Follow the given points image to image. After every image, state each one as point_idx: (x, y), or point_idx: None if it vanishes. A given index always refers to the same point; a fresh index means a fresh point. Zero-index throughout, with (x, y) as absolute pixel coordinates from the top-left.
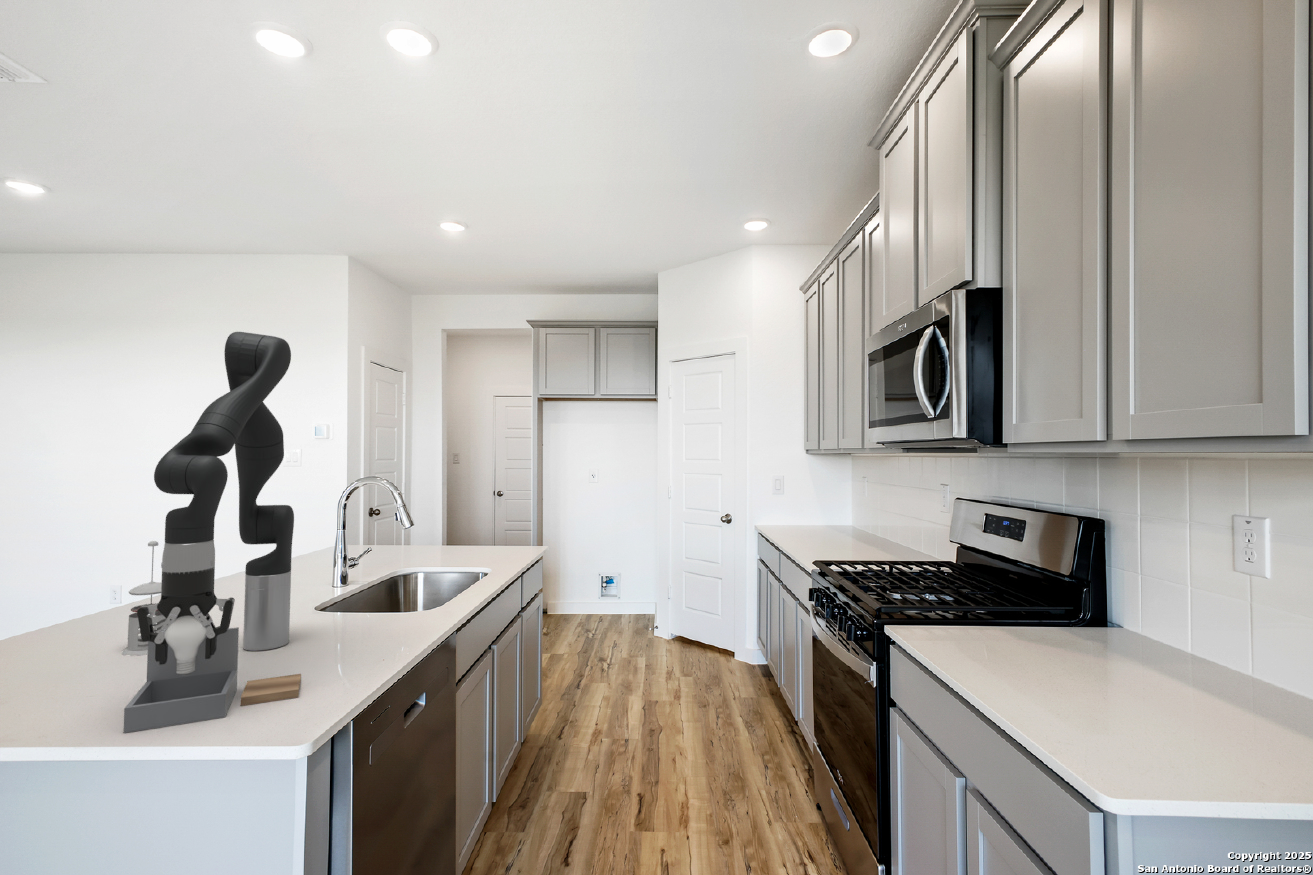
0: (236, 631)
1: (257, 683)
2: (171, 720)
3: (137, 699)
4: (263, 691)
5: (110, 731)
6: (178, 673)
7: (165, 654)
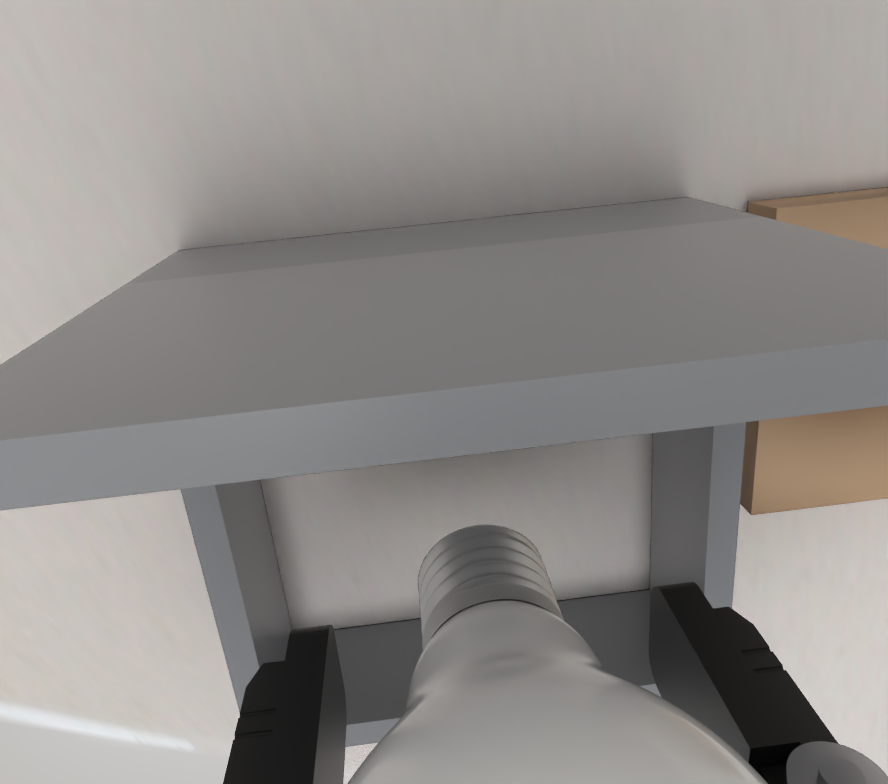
0: None
1: None
2: None
3: (254, 645)
4: (865, 453)
5: (199, 621)
6: (445, 621)
7: (338, 753)
